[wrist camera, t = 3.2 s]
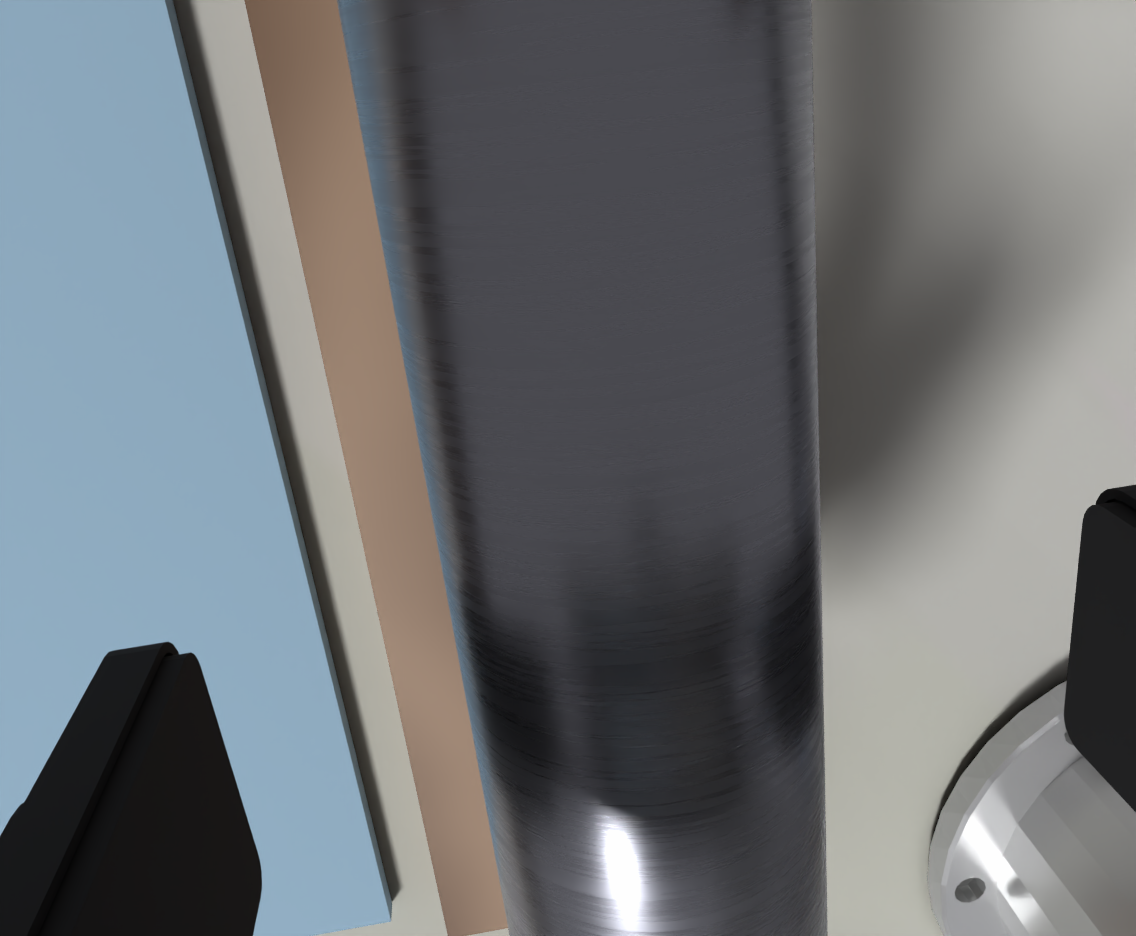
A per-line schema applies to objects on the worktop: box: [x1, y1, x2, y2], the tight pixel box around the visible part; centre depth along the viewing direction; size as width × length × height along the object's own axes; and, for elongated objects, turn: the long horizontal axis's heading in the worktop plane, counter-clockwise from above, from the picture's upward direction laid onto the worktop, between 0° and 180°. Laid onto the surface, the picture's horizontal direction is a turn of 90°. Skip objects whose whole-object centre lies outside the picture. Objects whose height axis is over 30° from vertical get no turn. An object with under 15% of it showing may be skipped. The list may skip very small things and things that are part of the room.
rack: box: [245, 0, 508, 936], centre depth 14 cm, size 9×28×15 cm, turn 7°
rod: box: [337, 0, 827, 936], centre depth 9 cm, size 28×3×3 cm, turn 6°
